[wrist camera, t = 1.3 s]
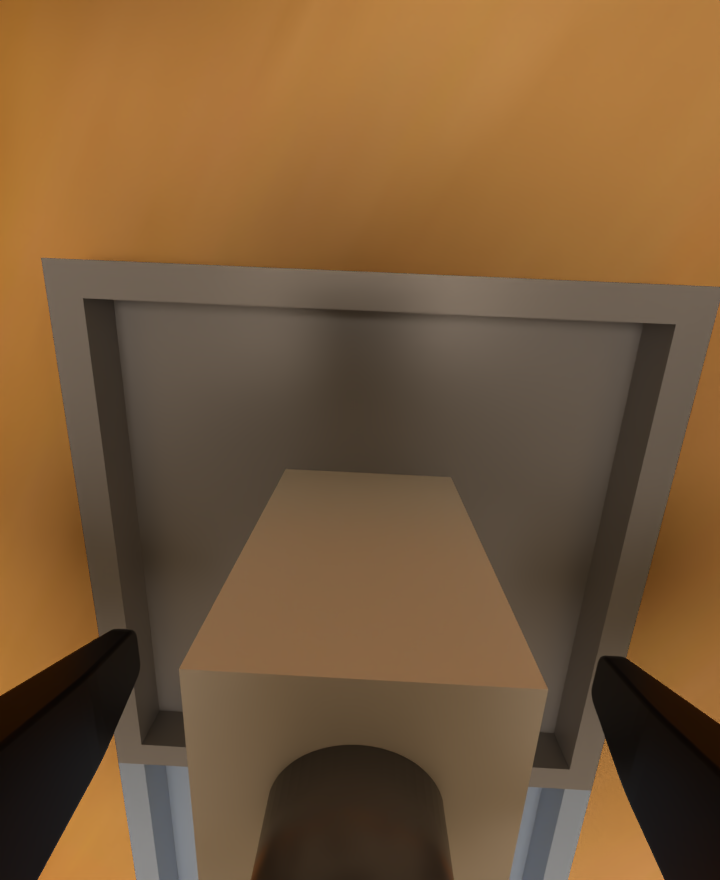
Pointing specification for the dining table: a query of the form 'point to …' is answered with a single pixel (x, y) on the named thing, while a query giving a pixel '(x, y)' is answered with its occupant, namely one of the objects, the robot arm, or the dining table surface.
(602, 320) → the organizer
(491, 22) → the dining table surface
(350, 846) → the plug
